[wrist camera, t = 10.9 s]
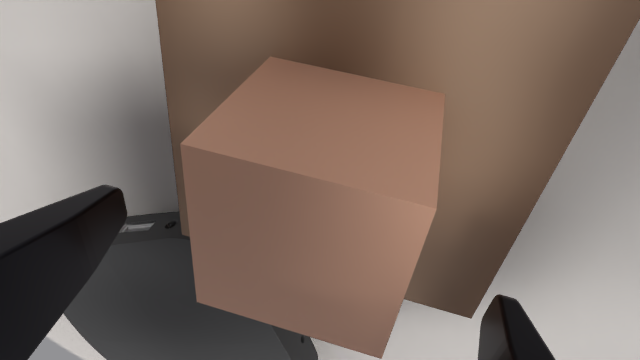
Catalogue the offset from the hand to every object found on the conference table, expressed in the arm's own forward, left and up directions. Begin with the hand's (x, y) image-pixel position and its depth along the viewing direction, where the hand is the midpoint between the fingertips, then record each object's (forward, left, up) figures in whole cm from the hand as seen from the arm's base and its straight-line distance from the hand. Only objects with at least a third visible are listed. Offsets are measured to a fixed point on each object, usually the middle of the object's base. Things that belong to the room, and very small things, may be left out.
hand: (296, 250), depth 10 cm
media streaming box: (+8, +16, -8) cm, 20 cm away
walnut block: (0, 0, -8) cm, 8 cm away
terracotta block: (0, 0, -4) cm, 5 cm away
